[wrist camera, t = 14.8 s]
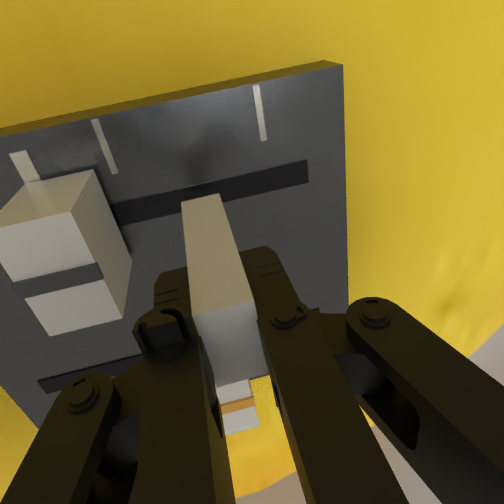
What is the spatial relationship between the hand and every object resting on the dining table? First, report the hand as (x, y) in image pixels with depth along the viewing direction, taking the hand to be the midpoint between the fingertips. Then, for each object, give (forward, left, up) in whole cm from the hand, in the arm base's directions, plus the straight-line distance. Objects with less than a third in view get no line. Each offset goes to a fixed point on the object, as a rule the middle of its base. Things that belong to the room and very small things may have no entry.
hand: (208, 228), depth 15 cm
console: (-4, -5, -6) cm, 9 cm away
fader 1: (-6, 0, -4) cm, 7 cm away
